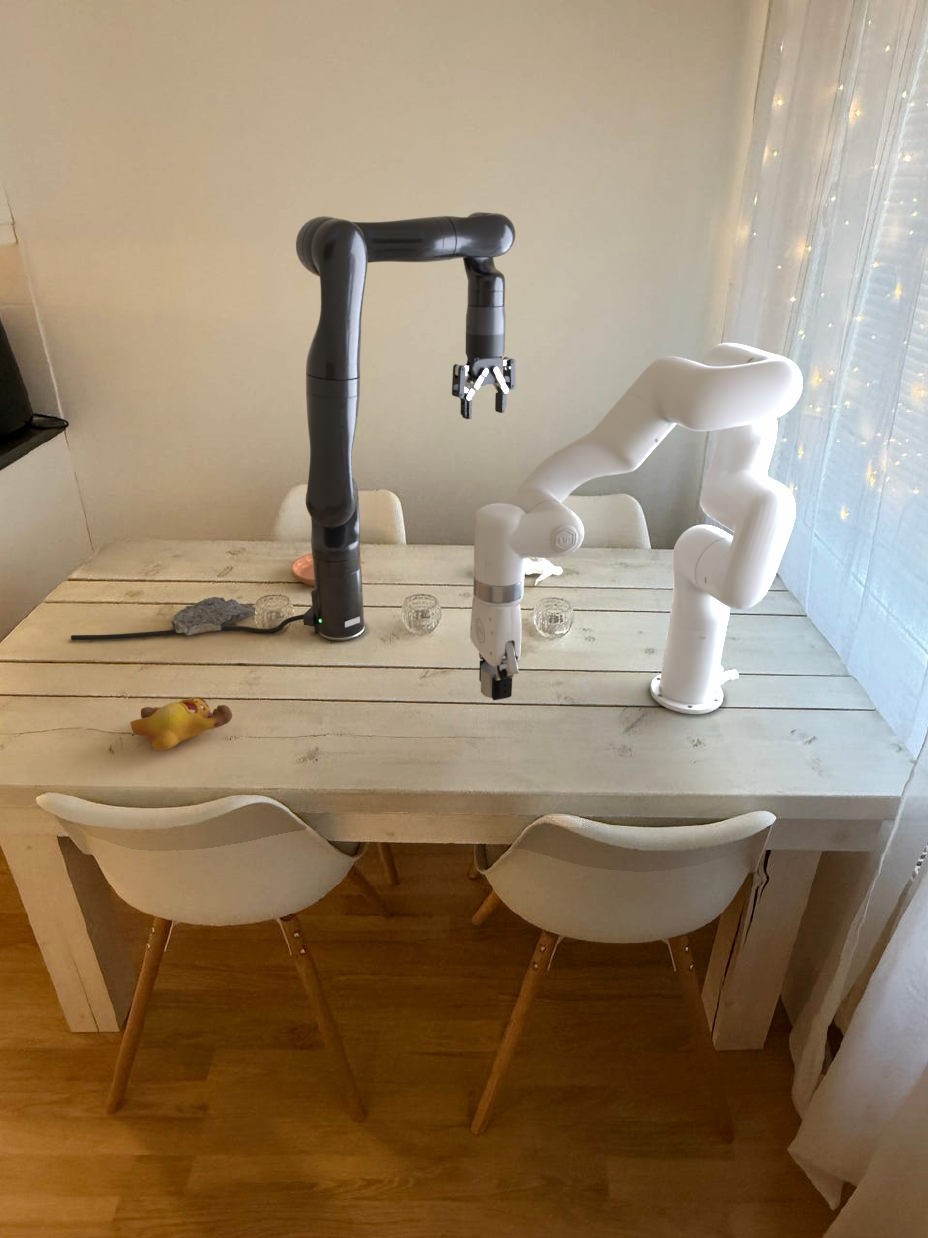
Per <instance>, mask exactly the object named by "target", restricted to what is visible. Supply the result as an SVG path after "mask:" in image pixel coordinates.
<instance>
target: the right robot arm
mask: <svg viewBox="0 0 928 1238" xmlns="http://www.w3.org/2000/svg"><path fill="white" fill-rule="evenodd" d="M803 382H804V380H803V374H802V372H801V369H800V368H799V367H798V365H797V364H796V363H795V362H794V361H792V360H791V359H789V358H787V357H785V356H782V355H779V354H777V353H776V354H775V353H772V352H768V351H764V350H762V349H759V348H756V347H753V346H749V345H745V344H741V343H735V342H723V343H718V344H716V345H714V346H712V347H711V348H710V349H709V350H708V351H707V352H706V353H705V355H704V357H703V359H702V362H697V361H694V360H691V359H688V358H685V357H684V358H683V357H681V356H675V355H674V356H673V355H665V356H661V357H659V358H656V359H655V360H653V361H652V362H651V363H650V364H649V365H648V366H647V367H646V368H645V370H644V371H642V373H641V374H639V376H638V377H637V378H636V380H635V381H634V382H633V383H632V384H631V385H630V387H629V388H628V389H627V390H626V391H625V392H624V394H622V396H621V397H620V398H619V399H618V400H617V402H615V404H614V405H613V406H612V407H611V409H610V410H609V411H608V412H606V414H605V415H604V416H603V418H601V420H600V421H599V422H598V424H597V425H596V426H595V427H594V428H593V429H592V430H591V431H589V432H588V433H586V434H585V435H583V436H581V437H579V438H576V439H575V440H573V441H571V442H570V443H568V444H566V445H565V446H563V447H562V448H559V449H558V450H556V451H555V452H553V453H552V454H550V455H549V456H547V457H546V458H545V459H544V460H543V461H541V462H540V463H539V464H538V465H537V466H536V468H535V469H534V470H533V471H532V472H531V473H530V474H529V476H528V477H527V478H526V479H525V480H524V481H523V483H522V484H521V485H520V486H519V488H518V489H517V491H516V492H515V494H514V495H513V497H512V499H511V500H510V503H503V502H502V503H501V502H500V503H499V502H498V503H490V504H486V505H483V506H481V507H480V508H478V510H477V511H476V514H475V516H474V530H473V531H474V533H473V534H474V535H473V536H474V537H473V538H474V539H473V540H474V542H473V543H474V544H473V588H472V589H473V592H472V593H473V595H472V602H471V613H470V628H469V629H470V632H469V637H470V641H471V642H472V644H473V646H474V647H475V648H476V650H477V651H478V657H479V659H480V660H479V673H478V675H479V677H478V680H479V682H480V683H481V665H482V664H483V663H484V662H486V661H487V663H488V664H490V665H491V666H494V676H495V677H493V678H492V698H491V699H492V700H493V701H499V700H503V699H508V698H509V699H510V698H511V697H512V693H513V678H514V676H516V675H518V674H519V667H518V663H517V662H519V660H520V658H521V654H522V653H521V652H522V608H521V601H522V600H523V599H524V590H525V574H524V573H525V559H526V558H531V557H537V558H544V559H560V558H565V557H567V556H569V555H571V554H573V553H574V552H576V551H577V550H578V549H579V548H580V547H581V546H582V543H583V541H584V538H585V528H584V524H583V522H582V521H581V519H580V518H579V516H578V515H577V514H576V513H575V512H573V511H572V510H571V509H570V508H568V507H567V506H566V505H565V504H564V503H563V502H564V501H565V500H566V499H567V498H568V496H569V495H571V493H573V492H574V491H575V490H576V489H577V488H578V487H580V486H581V485H583V484H585V483H586V482H589V481H590V480H593V479H597V478H599V477H606V476H614V475H621V474H622V475H623V474H627V473H632V472H634V471H635V470H637V469H638V468H639V467H640V466H641V465H642V464H643V463H644V461H646V460H647V458H648V457H649V456H650V454H652V453H653V451H654V450H655V449H656V447H658V445H660V443H661V442H662V441H663V440H664V439H665V438H666V437H667V435H668V434H669V433H670V432H671V431H672V430H673V428H674V427H675V426H676V425H678V426H679V427H682V428H684V429H687V430H690V431H693V432H711V431H712V432H713V431H718V434H717V437H716V440H715V441H716V442H715V446H714V449H713V453H712V455H711V458H710V461H709V465H708V468H707V472H706V475H705V478H704V481H703V484H702V487H701V491H700V496H699V505H700V508H701V510H702V511H703V513H704V514H705V515H706V516H708V517H709V518H710V519H711V520H713V521H714V522H716V523H718V524H719V525H721V526H722V527H725V528H726V529H728V530H729V531H731V532H732V533H733V534H732V535H731V534H729V533H728V532H726V531H725V530H723V529H720V528H718V527H716V526H713V525H709V524H699V525H698V524H697V525H694V526H691V527H689V528H688V529H686V530H685V531H683V533H681V534H680V536H679V537H678V538H677V541H676V543H675V544H674V548H673V551H672V559H671V561H672V562H671V565H672V566H671V567H672V597H671V598H672V599H671V600H672V601H671V604H670V605H671V607H670V612H669V619H668V625H667V633H666V639H665V645H664V646H665V647H664V652H663V660H662V666H661V673H660V674H657V675H656V676H655V677H654V678H653V679H652V681H651V683H650V687H649V692H650V695H651V697H652V698H653V699H654V700H655V701H656V702H657V703H658V704H660V705H661V706H662V707H664V708H666V709H668V710H672V711H674V712H678V713H681V714H686V715H702V714H708V713H711V712H713V711H715V710H717V709H719V707H720V706H721V705H722V703H723V699H724V691H723V689H722V687H721V686H724V684H725V683H730V682H734V681H738V680H739V676H740V675H739V672H738V671H737V670H736V669H731V670H727V671H725V672H724V667H723V666H722V665H721V661H722V655H723V650H724V649H723V648H724V643H725V640H726V639H725V638H726V633H727V629H728V628H727V627H728V624H729V618H730V612H731V611H730V610H731V609H733V610H738V611H742V610H748V609H750V608H752V607H753V606H755V605H757V604H758V603H759V602H761V601H762V600H763V598H764V597H765V596H766V595H767V593H768V591H769V590H770V588H771V586H772V584H773V581H774V579H775V577H776V574H777V571H778V569H779V566H780V564H781V560H782V557H783V555H784V552H785V549H786V547H787V544H788V542H789V539H790V536H791V533H792V531H793V527H794V525H795V520H796V514H797V511H796V502H795V498H794V495H793V493H792V492H791V491H790V489H789V488H788V487H787V486H785V485H784V484H783V483H781V482H779V481H778V480H775V479H773V478H771V477H769V475H768V472H769V471H768V470H769V466H770V463H771V459H772V456H773V452H774V448H775V445H776V441H777V436H778V420H777V418H780V417H782V416H783V415H785V414H786V413H788V412H789V411H790V410H792V408H793V407H794V406H795V405H796V404H797V402H798V401H799V399H800V397H801V394H802V392H803V384H804V383H803ZM502 664H506V665H507V668H505V669H502V670H501V671H500V665H502Z"/></svg>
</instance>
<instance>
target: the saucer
mask: <svg viewBox="0 0 928 1238" xmlns="http://www.w3.org/2000/svg"><path fill="white" fill-rule="evenodd" d="M361 566H362V563H361ZM290 572H291V575H292V576H293V577H294V578H295V579H297V580H298V581H299V582H301V583H302V584H304V585H306V586H308V587H312V588H313V587H314V588H315V582H314V570H313V559H312V552H311V553H308V554H305V555H302V556H300V557H298V558H296V559H294V561H293V562H292V563H291V565H290Z"/></svg>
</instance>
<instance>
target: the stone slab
mask: <svg viewBox="0 0 928 1238" xmlns="http://www.w3.org/2000/svg"><path fill="white" fill-rule="evenodd" d="M255 610H256V607H255V606H253V605H252V604H246V603H243V604H241V603H239V601H237V600H236V599H232V598H231V599H228V600H226V599H225V598H224V597H217V596H212V597H208V598H203V600H200V601H198V602H196V603H195V604H193V605H186V606H185V607H184V608H183V609H180V610H179V611H178V612H177V613H176V614H174V615H173V617H172V619H171V621H170V623H171V626H173V629H174V630H175V632H177V633H183V634H182V635H184V636H186V637H187V636H194V635H197V634H201V633H208V632H207V631H216V632H219V631H218V630H221V629H222V628H223V627H224V626H230V624H232V623H233V622H236V621H239V620H245V619H246V618H248V617H252V616H255V615H256V614H255Z"/></svg>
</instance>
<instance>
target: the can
mask: <svg viewBox="0 0 928 1238" xmlns="http://www.w3.org/2000/svg"><path fill="white" fill-rule="evenodd" d="M505 668H507V665H506V664H502V665H500V671H501V670H502V669H505ZM493 677H495V676H494V666H491V665H490V664H488V663H487V661H486V662H484V663H483V664H482V665H481V682H480V693H481V694H482V695H483V696H484V697H487V698H489V699H492V678H493Z"/></svg>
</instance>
